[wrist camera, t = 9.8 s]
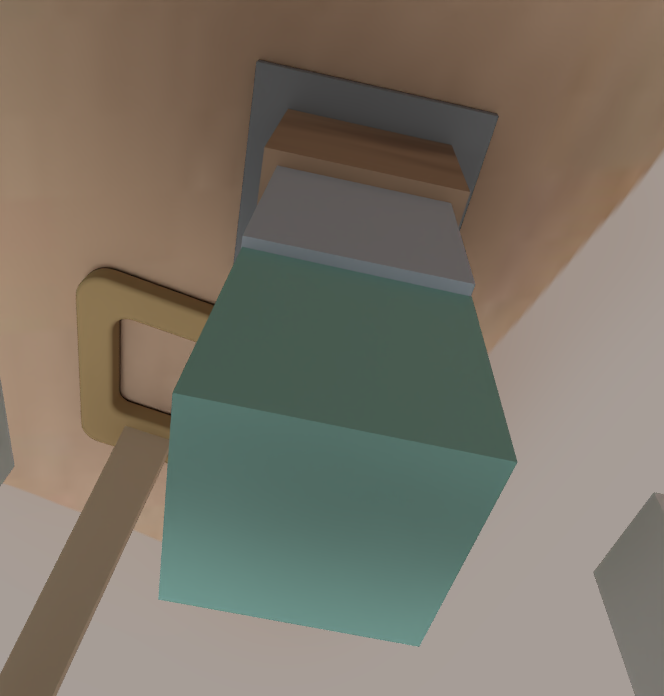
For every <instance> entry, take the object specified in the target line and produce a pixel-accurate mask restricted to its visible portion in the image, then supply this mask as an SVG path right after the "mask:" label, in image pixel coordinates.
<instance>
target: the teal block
mask: <svg viewBox="0 0 664 696" xmlns="http://www.w3.org/2000/svg"><path fill="white" fill-rule="evenodd" d="M516 464H517V459H516V455H515V452H514V448H513V445H512V441H511V438H510V434H509V430H508V427H507V423H506V419H505V416H504V412H503V408H502V405H501V401H500V397H499V394H498V390H497V387H496V383H495V380H494V376H493V372H492V369H491V365H490V361H489V358H488V354H487V350H486V347H485V343H484V339H483V336H482V332H481V329H480V325H479V321H478V318H477V314H476V310H475V307H474V303H473V300H472V297H471V296H466V295H462V294H457V293H452V292H448V291H443V290H439V289H434V288H429V287H425V286H420V285H416V284H411V283H406V282H402V281H397V280H393V279H388V278H383V277H379V276H374V275H370V274H365V273H360V272H356V271H351V270H347V269H342V268H337V267H333V266H328V265H324V264H319V263H314V262H310V261H305V260H301V259H296V258H291V257H287V256H282V255H278V254H273V253H268V252H264V251H259V250H255V249H250V248H245V247H242V248H241V250H240V252H239V254H238V256H237V259H236V261H235V263H234V265H233V267H232V269H231V271H230V273H229V275H228V278H227V280H226V282H225V284H224V286H223V288H222V290H221V292H220V294H219V296H218V299H217V301H216V303H215V305H214V307H213V309H212V311H211V313H210V315H209V317H208V320H207V322H206V324H205V326H204V328H203V330H202V332H201V334H200V336H199V338H198V341H197V343H196V345H195V347H194V349H193V351H192V353H191V355H190V357H189V359H188V362H187V364H186V366H185V368H184V370H183V372H182V374H181V376H180V378H179V380H178V383H177V385H176V387H175V389H174V391H173V394H172V409H171V424H170V438H169V453H168V467H167V482H166V497H165V511H164V526H163V540H162V555H161V570H160V584H159V600H164V601H170V602H175V603H181V604H187V605H193V606H198V607H203V608H208V609H214V610H220V611H225V612H231V613H236V614H242V615H248V616H253V617H259V618H264V619H269V620H275V621H281V622H286V623H291V624H297V625H302V626H308V627H314V628H319V629H325V630H330V631H336V632H341V633H347V634H352V635H358V636H363V637H369V638H374V639H380V640H385V641H391V642H396V643H402V644H407V645H413V646H418V647H419V646H420V644H421V642H422V640H423V638H424V636H425V635H426V633H427V631H428V629H429V627H430V625H431V623H432V621H433V620H434V618H435V616H436V614H437V612H438V610H439V608H440V606H441V605H442V603H443V601H444V599H445V597H446V595H447V593H448V591H449V590H450V588H451V586H452V584H453V582H454V580H455V578H456V576H457V574H458V573H459V571H460V569H461V567H462V565H463V563H464V561H465V560H466V557H467V556H468V554H469V552H470V550H471V548H472V546H473V545H474V543H475V541H476V539H477V537H478V535H479V533H480V531H481V529H482V527H483V526H484V524H485V522H486V520H487V518H488V516H489V515H490V512H491V511H492V509H493V507H494V505H495V503H496V501H497V499H498V498H499V496H500V494H501V492H502V490H503V488H504V486H505V485H506V483H507V481H508V479H509V477H510V475H511V473H512V471H513V469H514V468H515V466H516Z"/></svg>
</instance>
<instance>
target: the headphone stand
mask: <svg viewBox="0 0 664 696" xmlns="http://www.w3.org/2000/svg"><path fill="white" fill-rule="evenodd" d="M213 307H214V305H211V304H208V303H205V302H203V301H200V300H197V299H194V298H191V297H189V296H186V295H183V294H180V293H178V292H175V291H172V290H169V289H166V288H164V287H161V286H158V285H155V284H153V283H150V282H147V281H144V280H141V279H139V278H136V277H133V276H130V275H127V274H125V273H122V272H119V271H116V270H113V269H108V268H101V269H97V270H94V271H92V272H91V273H89V274H88V275H87V277H86V278H85V279H84V280H83V281H82V282H81V283H80V284H79V286H78V288H77V291H76V310H77V333H78V356H79V378H80V401H81V423H82V428H83V430H84V432H85V433H86V434H87V435H88V436H89V437H91V438H92V439H94V440H96V441H99V442H102V443H105V444H108V445H111V446H115V447H114V449H113V451H112V453H111V455H110V457H109V459H108V461H107V463H106V465H105V467H104V469H103V471H102V473H101V475H100V477H99V479H98V481H97V483H96V485H95V487H94V489H93V491H92V493H91V495H90V497H89V499H88V501H87V503H86V505H85V507H84V509H83V510H82V512H81V514H80V516H79V519H78V521H77V523H76V524H75V526H74V528H73V530H72V532H71V534H70V536H69V538H68V540H67V542H66V544H65V547H64V548H63V550H62V552H61V554H60V556H59V558H58V561H57V562H56V564H55V566H54V569H53V570H52V572H51V574H50V576H49V578H48V580H47V582H46V584H45V586H44V588H43V590H42V592H41V594H40V596H39V598H38V600H37V602H36V604H35V606H34V608H33V610H32V612H31V614H30V616H29V618H28V620H27V622H26V624H25V626H24V628H23V630H22V632H21V634H20V636H19V638H18V640H17V642H16V644H15V646H14V648H13V650H12V652H11V654H10V656H9V658H8V660H7V662H6V664H5V666H4V668H3V670H2V672H1V674H0V696H56V695H57V692H58V690H59V688H60V686H61V684H62V682H63V680H64V677H65V675H66V673H67V671H68V669H69V667H70V665H71V662H72V660H73V658H74V656H75V654H76V652H77V649H78V647H79V645H80V643H81V641H82V639H83V636H84V634H85V632H86V630H87V628H88V626H89V623H90V621H91V619H92V617H93V615H94V613H95V610H96V608H97V606H98V604H99V602H100V600H101V598H102V596H103V593H104V591H105V589H106V587H107V585H108V582H109V580H110V578H111V576H112V574H113V572H114V570H115V567H116V565H117V563H118V561H119V559H120V556H121V554H122V552H123V550H124V548H125V546H126V544H127V542H128V539H129V537H130V535H131V533H132V531H133V529H134V527H135V524H136V522H137V520H138V518H139V516H140V514H141V511H142V509H143V507H144V505H145V503H146V501H147V498H148V496H149V494H150V492H151V490H152V488H153V486H154V483H155V481H156V479H157V477H158V475H159V473H160V470H161V468H162V466H163V464H164V462H166V463H168V453H169V438H170V424H171V415H168V414H165V413H161V412H158V411H155V410H152V409H149V408H146V407H143V406H140V405H137V404H134V403H131V402H128V401H126V400H125V399H124V398H123V397H122V396H121V395H120V393H119V320H122V319H130V320H134V321H137V322H140V323H143V324H146V325H148V326H151V327H154V328H157V329H160V330H163V331H166V332H168V333H171V334H174V335H177V336H180V337H183V338H186V339H189V340H191V341H194V342H197V341H198V338H199V336H200V334H201V332H202V330H203V328H204V326H205V324H206V322H207V320H208V317H209V315H210V313H211V311H212V309H213Z"/></svg>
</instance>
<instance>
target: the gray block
mask: <svg viewBox="0 0 664 696" xmlns="http://www.w3.org/2000/svg"><path fill="white" fill-rule="evenodd" d="M242 247H245V248H250V249H255V250H259V251H264V252H268V253H273V254H278V255H282V256H287V257H291V258H296V259H301V260H305V261H310V262H314V263H319V264H324V265H328V266H333V267H337V268H342V269H347V270H351V271H356V272H360V273H365V274H370V275H374V276H379V277H383V278H388V279H393V280H397V281H402V282H406V283H411V284H416V285H420V286H425V287H429V288H434V289H439V290H443V291H448V292H452V293H457V294H462V295H466V296H471V295H472V292H473V289H474V287H475V281H474V278H473V275H472V271H471V268H470V265H469V261H468V258H467V255H466V251H465V248H464V245H463V241H462V238H461V234H460V231H459V228H458V224H457V221H456V218H455V214H454V211H453V208H452V204H451V203H448V202H444V201H439V200H434V199H430V198H425V197H421V196H416V195H411V194H407V193H402V192H398V191H393V190H388V189H384V188H379V187H374V186H370V185H365V184H361V183H356V182H351V181H347V180H342V179H337V178H333V177H328V176H324V175H319V174H314V173H310V172H305V171H301V170H296V169H291V168H287V167H282V166H277V167H276V169H275V171H274V173H273V175H272V177H271V179H270V181H269V183H268V185H267V187H266V189H265V191H264V193H263V195H262V197H261V199H260V201H259V203H258V205H257V207H256V209H255V211H254V213H253V215H252V217H251V219H250V221H249V223H248V225H247V227H246V229H245V232H244V234H243V236H242V244H241V248H242Z"/></svg>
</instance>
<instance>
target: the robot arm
mask: <svg viewBox="0 0 664 696" xmlns="http://www.w3.org/2000/svg"><path fill="white" fill-rule="evenodd" d="M13 467H14V459H13V453H12V447H11V441H10V435H9V429H8V423H7V416H6V410H5V404H4V398H3V392H2V386H1V380H0V486H1V484H2V483H3V482H4V480H5V479H6V477H7V476H8V474H9V473H10V472H11V470H12V469H13ZM594 576H595V579H596V582H597V585H598V588H599V591H600V594H601V596H602V599H603V602H604V605H605V608H606V611H607V614H608V617H609V620H610V623H611V626H612V629H613V632H614V635H615V638H616V640H617V644H618V646H619V649H620V652H621V655H622V658H623V661H624V664H625V667H626V670H627V673H628V676H629V679H630V682H631V685H632V688H633V691H634V693H635V696H664V494H660V493H653V494H652V495H651V497H650V498H649V499H648V501H647V502H646V504H645V505H644V506H643V508H642V509H641V510H640V511H639V513H638V514H637V515H636V517H635V518H634V519H633V521H632V522H631V523H630V525H629V526H628V527H627V529H626V530H625V531H624V532H623V534H622V535H621V536H620V538H619V539H618V540H617V542H616V543H615V544H614V546H613V547H612V548H611V550H610V551H609V553H608V554H607V555H606V557H605V558H604V559H603V560H602V562H601V563H600V564H599V566H598V567H597V568H596V570H595V571H594Z"/></svg>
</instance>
